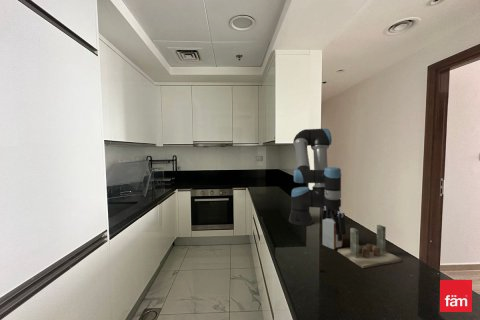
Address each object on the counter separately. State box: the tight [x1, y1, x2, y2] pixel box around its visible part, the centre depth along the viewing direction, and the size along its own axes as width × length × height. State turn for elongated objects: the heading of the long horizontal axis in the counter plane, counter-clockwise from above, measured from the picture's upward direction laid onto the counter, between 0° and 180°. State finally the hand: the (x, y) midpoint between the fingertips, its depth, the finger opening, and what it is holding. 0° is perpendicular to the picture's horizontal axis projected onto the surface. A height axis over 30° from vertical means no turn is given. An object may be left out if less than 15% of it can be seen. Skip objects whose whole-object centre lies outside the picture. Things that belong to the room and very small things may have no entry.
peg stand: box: [337, 224, 402, 269], centre depth 87 cm, size 14×20×13 cm
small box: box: [322, 217, 344, 250], centre depth 98 cm, size 8×6×13 cm
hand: (332, 242), depth 98 cm, fingers closed on small box, 8 cm apart
